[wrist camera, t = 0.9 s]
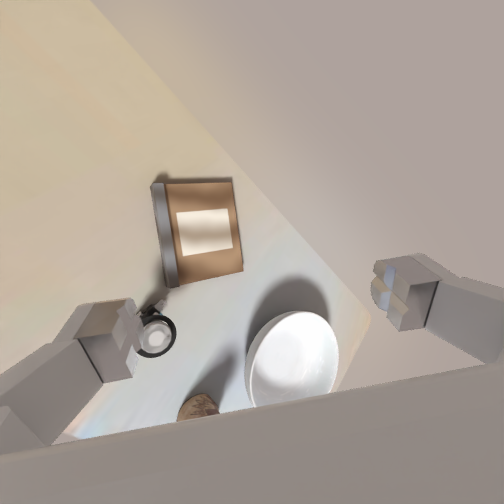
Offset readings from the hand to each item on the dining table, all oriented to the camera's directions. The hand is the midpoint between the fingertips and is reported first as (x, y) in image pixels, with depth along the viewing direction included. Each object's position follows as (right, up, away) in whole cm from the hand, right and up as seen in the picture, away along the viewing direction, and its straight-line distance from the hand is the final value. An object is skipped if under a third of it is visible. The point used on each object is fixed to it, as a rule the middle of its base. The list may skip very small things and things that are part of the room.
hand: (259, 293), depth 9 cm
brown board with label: (-9, +5, +37) cm, 38 cm away
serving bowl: (+5, -20, +45) cm, 50 cm away
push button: (-17, -9, +33) cm, 38 cm away
